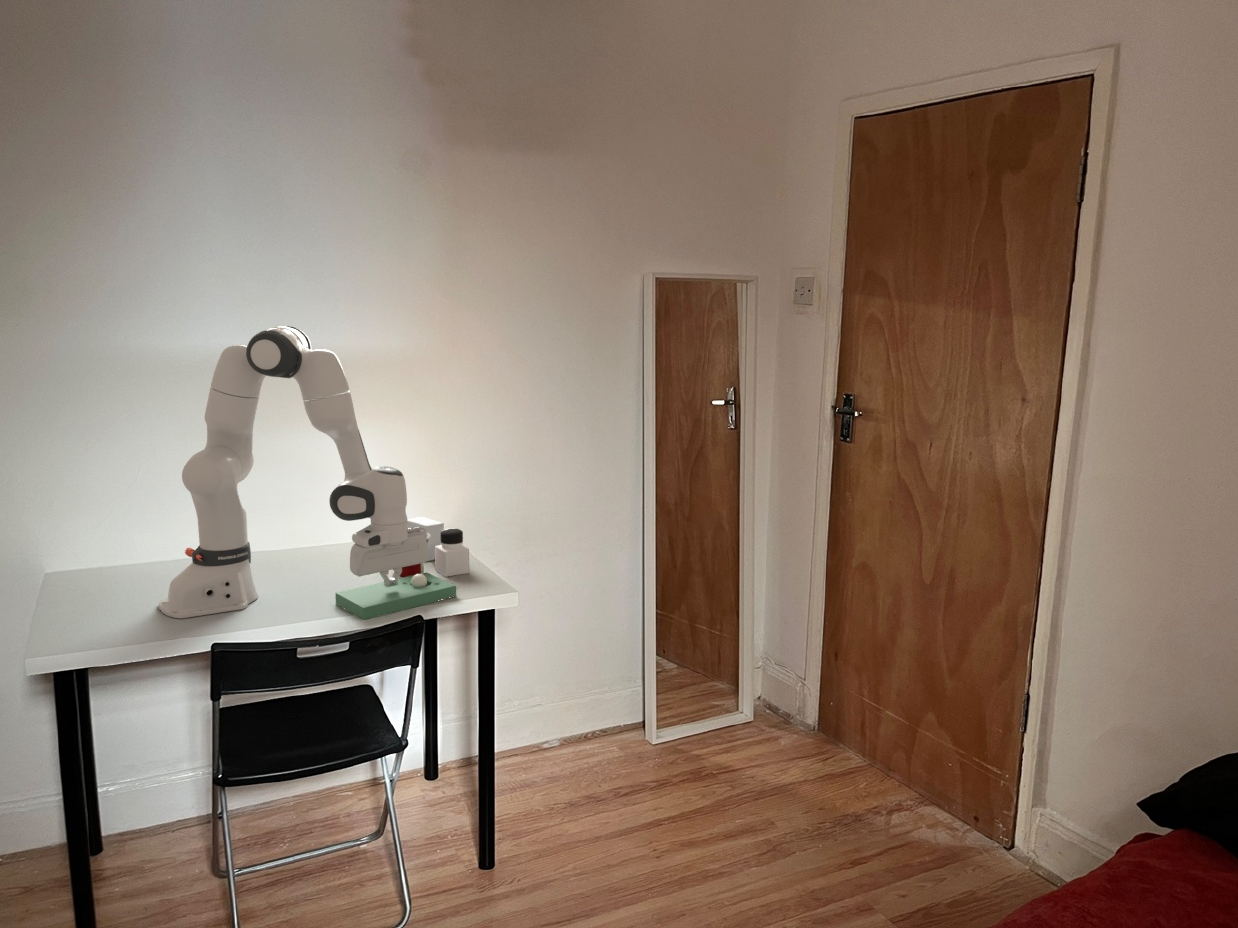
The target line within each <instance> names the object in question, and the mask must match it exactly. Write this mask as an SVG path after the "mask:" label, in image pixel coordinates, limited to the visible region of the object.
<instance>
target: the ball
mask: <svg viewBox="0 0 1238 928" xmlns="http://www.w3.org/2000/svg"><path fill="white" fill-rule="evenodd" d="M411 584H412V586H414V587H424V586H426V585H427V578H426V577H425V576H424V575H423V574H416V575H414V576H413V577H412V579H411Z"/></svg>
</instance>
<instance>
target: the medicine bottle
mask: <svg viewBox="0 0 1238 928" xmlns="http://www.w3.org/2000/svg"><path fill="white" fill-rule="evenodd" d="M440 534H441V545H438V546H435V559H434V560H435V561H434V568H435V571H436V572H438V573H439V574H441V575H442V576H444V577H445V578H448V576H449V577H453V576H454V575H455V576H460V575H465V574H469V573H470V549H469V548H468V547H466V545H463V544H464V532H463V530H461V529H460V528H453V527H450V528H444V530H442V531H441V533H440Z"/></svg>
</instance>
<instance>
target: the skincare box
mask: <svg viewBox="0 0 1238 928" xmlns="http://www.w3.org/2000/svg"><path fill="white" fill-rule="evenodd" d="M407 521H408V529H409V528H416V527H422V528H424V529H425V530H426V532H427V533H429V534H430V535H431V536H430V538H429V539H428V542H427V546H428V553H429V558H428V560H427V562H430V561H434V560H435V546H438V545H441V534H440V533H441V531H442V530H445V526H444V525H445V523H444V522H442V521H439V520H438V521H437V520H434V519H430V518H428V517H424V516H419V517H414V518H407ZM422 530H423V529H422Z"/></svg>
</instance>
